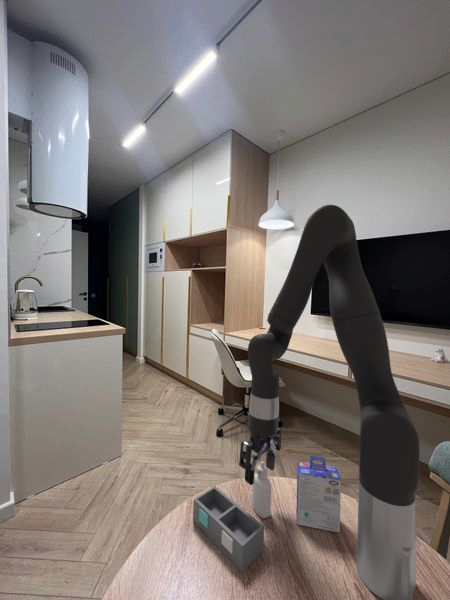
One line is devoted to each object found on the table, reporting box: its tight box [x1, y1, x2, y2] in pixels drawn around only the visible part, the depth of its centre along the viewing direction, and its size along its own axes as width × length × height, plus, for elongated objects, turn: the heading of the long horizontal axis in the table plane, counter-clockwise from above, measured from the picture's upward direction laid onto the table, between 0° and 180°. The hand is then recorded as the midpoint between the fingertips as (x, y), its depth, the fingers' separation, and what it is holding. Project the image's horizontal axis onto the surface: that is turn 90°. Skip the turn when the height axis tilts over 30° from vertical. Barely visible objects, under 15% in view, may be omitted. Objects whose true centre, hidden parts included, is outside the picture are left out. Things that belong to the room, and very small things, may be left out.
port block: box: [192, 485, 265, 573], centre depth 57 cm, size 16×7×5 cm, turn 44°
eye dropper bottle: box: [251, 461, 272, 519], centre depth 64 cm, size 4×6×12 cm
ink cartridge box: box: [295, 455, 342, 534], centre depth 62 cm, size 10×6×14 cm, turn 78°
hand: (260, 475), depth 65 cm, fingers open, 8 cm apart
